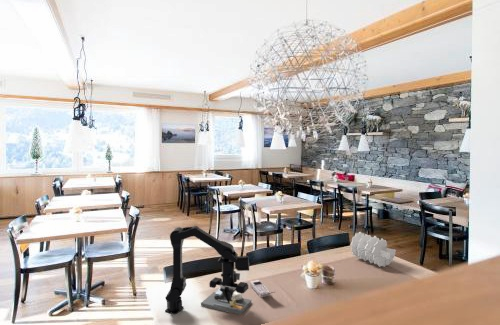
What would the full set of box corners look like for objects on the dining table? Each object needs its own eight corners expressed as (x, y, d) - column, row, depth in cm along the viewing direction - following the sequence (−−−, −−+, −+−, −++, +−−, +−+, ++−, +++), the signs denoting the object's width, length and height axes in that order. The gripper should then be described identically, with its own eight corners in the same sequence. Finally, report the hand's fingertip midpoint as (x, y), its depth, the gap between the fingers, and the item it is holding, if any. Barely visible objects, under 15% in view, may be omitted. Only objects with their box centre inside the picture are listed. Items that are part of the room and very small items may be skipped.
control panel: (201, 305, 152) (200, 300, 152) (213, 294, 163) (213, 289, 162) (240, 315, 142) (240, 308, 142) (251, 302, 153) (251, 297, 153)
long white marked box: (265, 293, 151) (247, 274, 174) (265, 305, 151) (248, 284, 175) (276, 291, 153) (257, 272, 176) (276, 303, 153) (257, 282, 177)
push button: (231, 298, 152) (231, 294, 152) (235, 294, 156) (235, 290, 156) (239, 300, 150) (239, 296, 150) (243, 296, 154) (243, 292, 154)
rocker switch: (215, 295, 156) (215, 293, 155) (220, 288, 160) (220, 287, 160) (220, 296, 154) (220, 294, 154) (225, 289, 159) (225, 288, 159)
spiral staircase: (382, 275, 190) (351, 261, 212) (399, 259, 197) (368, 246, 219) (374, 252, 185) (344, 239, 207) (392, 236, 191) (361, 225, 213)
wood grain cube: (229, 307, 147) (229, 301, 147) (232, 304, 149) (232, 298, 149) (233, 307, 146) (233, 301, 146) (236, 305, 148) (235, 299, 148)
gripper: (252, 267, 151) (253, 298, 152) (219, 262, 159) (220, 291, 160) (242, 276, 141) (243, 309, 142) (208, 270, 149) (209, 301, 149)
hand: (229, 302), depth 148 cm, fingers closed
